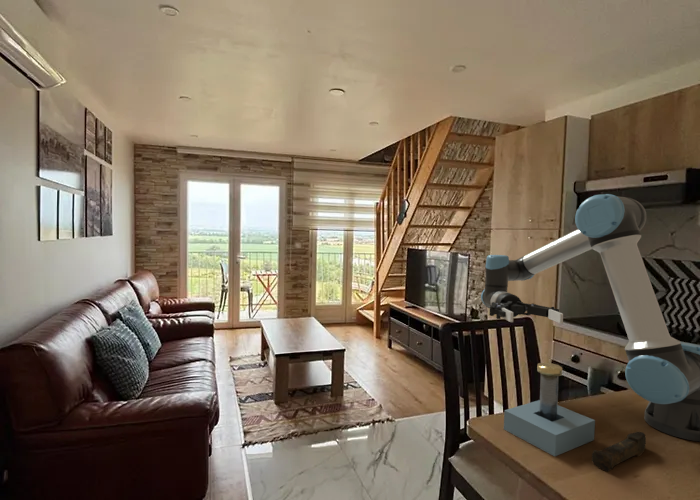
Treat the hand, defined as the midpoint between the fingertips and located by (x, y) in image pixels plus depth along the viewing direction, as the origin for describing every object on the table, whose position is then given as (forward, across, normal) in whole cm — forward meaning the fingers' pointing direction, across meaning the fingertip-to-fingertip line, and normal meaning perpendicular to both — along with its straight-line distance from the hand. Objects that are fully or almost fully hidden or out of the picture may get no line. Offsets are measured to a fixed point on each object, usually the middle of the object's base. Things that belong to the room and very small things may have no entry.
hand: (536, 318), depth 107 cm
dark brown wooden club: (+18, -12, -28) cm, 36 cm away
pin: (+9, 0, -27) cm, 28 cm away
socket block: (+9, 0, -28) cm, 29 cm away
